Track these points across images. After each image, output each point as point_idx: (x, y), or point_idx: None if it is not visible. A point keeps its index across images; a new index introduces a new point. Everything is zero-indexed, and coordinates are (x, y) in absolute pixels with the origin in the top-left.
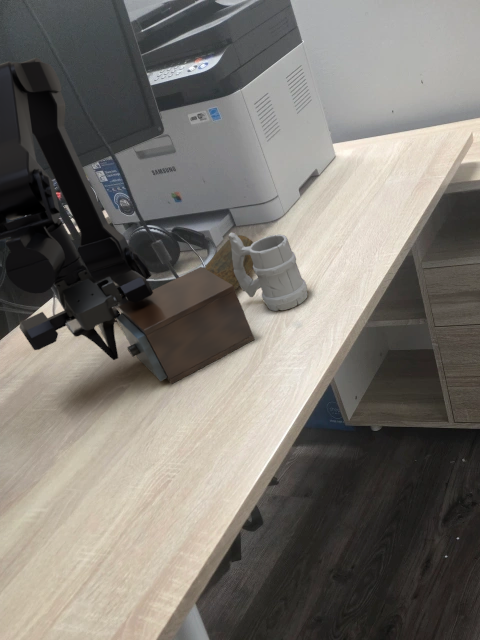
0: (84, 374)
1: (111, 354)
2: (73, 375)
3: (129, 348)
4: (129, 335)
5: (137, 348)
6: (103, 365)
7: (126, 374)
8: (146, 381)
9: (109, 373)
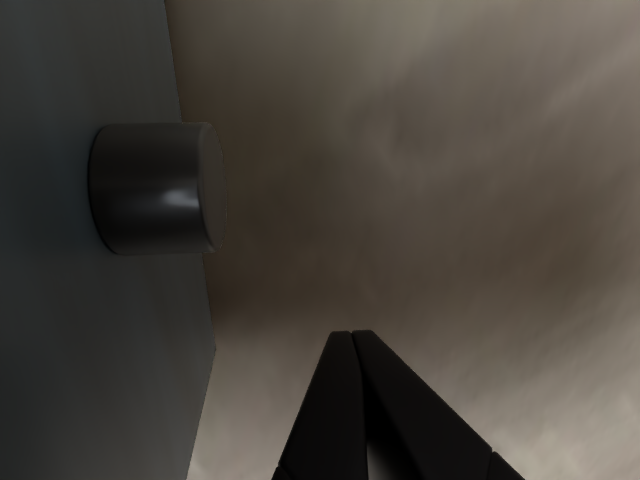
0: None
1: (375, 357)
2: None
3: (187, 175)
4: (52, 345)
5: (98, 134)
6: None
7: (324, 270)
8: (248, 47)
9: None
